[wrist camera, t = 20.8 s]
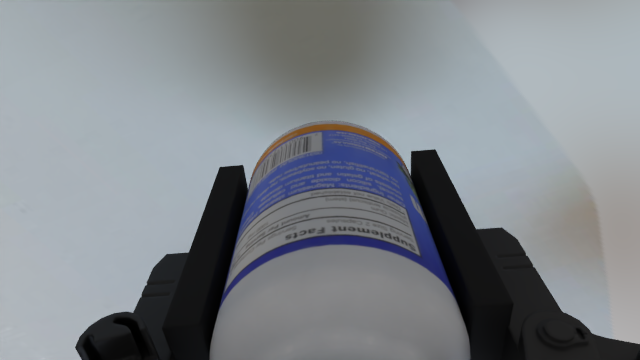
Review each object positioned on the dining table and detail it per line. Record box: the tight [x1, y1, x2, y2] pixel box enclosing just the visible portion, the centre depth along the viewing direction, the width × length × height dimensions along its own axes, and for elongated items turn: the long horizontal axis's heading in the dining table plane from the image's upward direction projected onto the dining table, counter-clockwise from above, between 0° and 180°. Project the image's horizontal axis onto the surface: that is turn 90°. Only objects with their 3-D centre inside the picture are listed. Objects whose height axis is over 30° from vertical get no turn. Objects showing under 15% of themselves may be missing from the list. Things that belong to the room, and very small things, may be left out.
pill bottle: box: [210, 121, 471, 360], centre depth 11 cm, size 5×5×10 cm
